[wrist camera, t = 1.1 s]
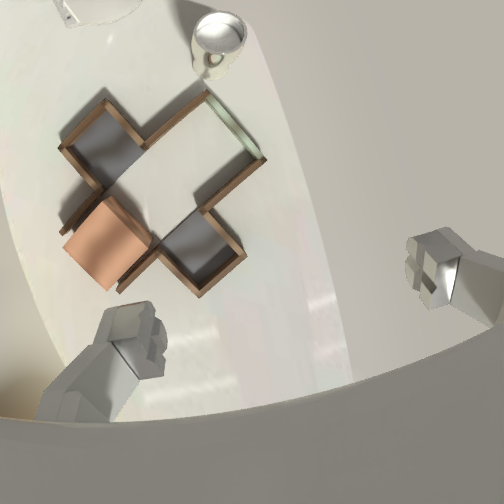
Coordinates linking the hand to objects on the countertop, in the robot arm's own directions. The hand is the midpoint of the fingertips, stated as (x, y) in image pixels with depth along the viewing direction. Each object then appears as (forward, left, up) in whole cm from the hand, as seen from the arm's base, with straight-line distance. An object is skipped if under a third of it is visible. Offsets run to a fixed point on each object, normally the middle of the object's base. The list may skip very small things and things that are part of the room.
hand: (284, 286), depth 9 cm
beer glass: (-15, +14, -45) cm, 49 cm away
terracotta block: (-4, -18, -45) cm, 48 cm away
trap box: (-4, -7, -45) cm, 45 cm away
